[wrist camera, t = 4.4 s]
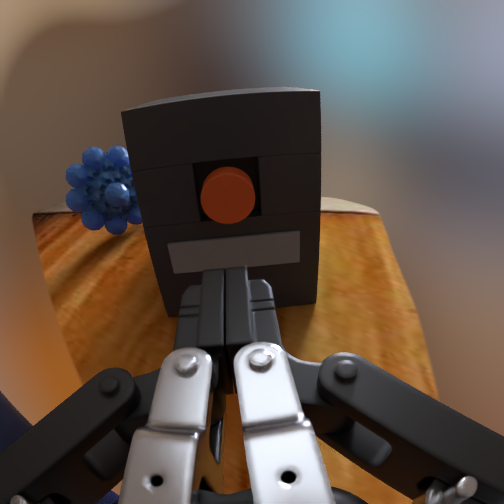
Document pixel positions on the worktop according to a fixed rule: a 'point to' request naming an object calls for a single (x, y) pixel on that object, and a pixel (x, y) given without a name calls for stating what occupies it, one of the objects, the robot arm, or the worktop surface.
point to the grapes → (104, 190)
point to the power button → (227, 195)
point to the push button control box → (246, 159)
